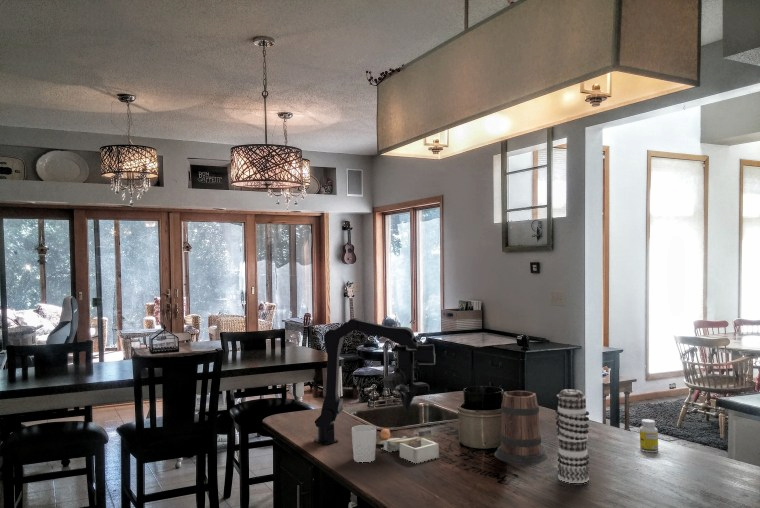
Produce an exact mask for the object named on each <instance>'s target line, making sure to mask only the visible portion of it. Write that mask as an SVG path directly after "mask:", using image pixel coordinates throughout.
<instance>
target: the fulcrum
mask: <svg viewBox="0 0 760 508" xmlns="http://www.w3.org/2000/svg"><path fill="white" fill-rule="evenodd" d="M402 438H408V436H406V435H403V436H402ZM406 445H408V446H409V444H406ZM380 448H381V449H380V450H382V449H383V450H382V451H384V450H386V451H388V452H387V453H389V452H390V453H393V452H392V451H394V452H396V451H397V450H398V451H400V445H389V441H387V440H384V444H383V447H380ZM386 451H385V452H386ZM398 451H397V452H398Z"/></svg>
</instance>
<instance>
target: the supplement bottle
mask: <svg viewBox="0 0 760 508" xmlns="http://www.w3.org/2000/svg"><path fill="white" fill-rule="evenodd" d="M639 443H640V444H639V445H640V446H639V447H640V448H639V449H640V450H641V451H642V450H644V451H648V452H656V453H658V452H659V429H658V428H657V427H656V421H655V420H654V419H651V418H650V419H649V418H643V419H641V426H640V427H639ZM644 451H643V452H644ZM657 451H658V452H657ZM648 452H647V453H648Z"/></svg>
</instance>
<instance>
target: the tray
mask: <svg viewBox="0 0 760 508" xmlns="http://www.w3.org/2000/svg"><path fill="white" fill-rule="evenodd" d="M439 451H440V448H439V443H438V442H435V441H432V440H429V439H424V438H421V440H420V446H419V447H413V446H410V445H409V444H408V445H406V444H403V443H400V450H399V458H400V457H401V458H400V459H402V458H404V459H403V460H405V459H406V460H405V461H407V460H408V461H407V462H409V461H411V462H410V463H412V462H413V463H412V464H414V463H415V464H414V465H416V463H417V464H421V463H424V461H425V462H427V461H428V460H429V461H432V460H435V458H436V459H439V458H440V453H439ZM431 459H432V460H431ZM420 462H421V463H420Z"/></svg>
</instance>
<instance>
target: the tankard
mask: <svg viewBox="0 0 760 508" xmlns="http://www.w3.org/2000/svg"><path fill="white" fill-rule="evenodd" d="M500 406H501V407H500V411H501V426H500V427H501V429H500V434H499V439H500V446H498V447H497V449H496V450H495V452H494V454H493V455H494V457H495V458H496V459H498V460H500V461H502V462H504V463H505V462H506V463H511V464H516V465H517V464H518V465H535V464H534V463H537V464H541V462H542V463H544V462H546V461H547V460H548V459H549V456H548V454H546V452H545V450H544V449H543V448H542V445H541V443H542V436H541V431H540V430H541V429H540V428H541V427H540V416H539V415H540V414H539V412H540V406H539V404H538V399H537V393H536V392H532V391H527V390H512V391H509V390H508V391H504V392H503V396H502V403H501V405H500ZM547 458H548V459H547ZM545 460H546V461H545Z"/></svg>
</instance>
